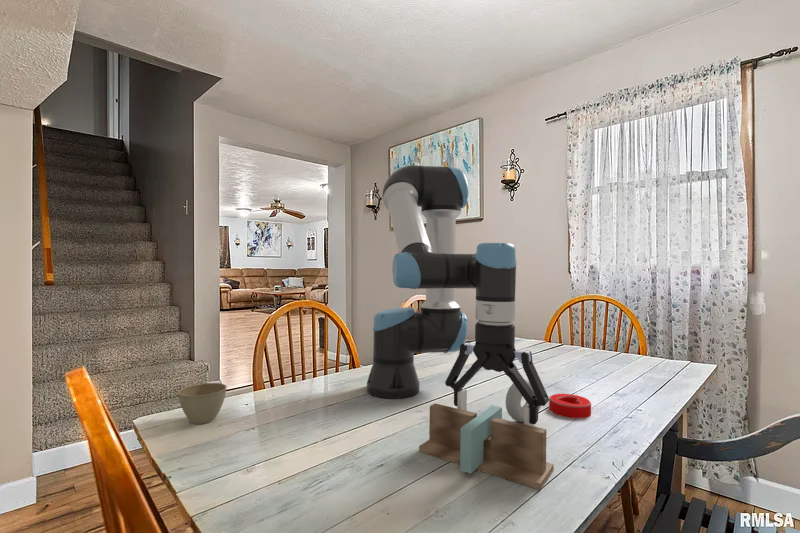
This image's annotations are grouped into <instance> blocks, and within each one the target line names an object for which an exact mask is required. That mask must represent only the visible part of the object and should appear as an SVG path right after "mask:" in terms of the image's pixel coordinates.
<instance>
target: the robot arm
mask: <svg viewBox="0 0 800 533" xmlns="http://www.w3.org/2000/svg"><path fill="white" fill-rule="evenodd" d="M382 188H383V189H382V200H383V205H384V207H385V208H386V209H387V210H388V211H389V215H390V220H391V225H392V228H393V233H394V234H393V235H394V238H395V242H396V246H397V251H398V253H396V254H394V256H393V259H392V266H391V267H392V268H391V271H392V281H393V285H394V286H396V288H399V289H400V288H401V289H411V290H416V289H424V290H425V300H424V301H423V303H422V304H421V305H420V312H415V311H416V310H415V309H414V308H413V307H409V306H408V307H395V308H388V309H383V310H381V311H378V312H377V313H376V314H374V318H373V326H372V331H373V343H372V344H373V346H372V348H373V350H372V358H373V360H372V366H371V369H370V372H369V375H368V378H367V381H366V392H367V393H368V394H369V395H372V396H374V397H378V398H384V399H403V398H409V397H413V396H415V395H417V394H418V393H420V380H419V378H418V377H419V376H418V373H417V370H416V367H415V364H414V362H415V361H414V360H415V356H414V355H415V354H425V353H426V354H427V353H428V354H433V353H442V354H447V353H456V352H458V351H459V352H458V355H457V358H456V359H455V362H454V364H453V366H452V368H451V369H450V372H449V374H448V376H447V378H446V380H445V382H444V385H445V386H446V387H450V388H452V390H453V405H454V407H456V408H457V409H461V410H466V411H468V410H467V405H468V403H467V401H468V400H467V399H468V390H467V389H465V386H466V385H467V384H468V383H469V382H470V381H471V380H472V379H473V378H474V376H475V375H476V374H478V372H479V371H480V370H481V369H482V368H484V370H486V371H495V372H497V373H501V372H503V373H504V374H505V375H506V376H507V377H508V378H509V379H510V380H511V382H512V384H513V383H514V385H515V386H516V388H517V389H518V390H519V392H520V393H521V395H522V396H523V397H522V398H523V399H524V400H525V403H526V402H527V403H528V404H527V405H526V406H525V407H524V422H523V424H526V425H530V426H535V425H536V424H537V422H538V421H539V412H538V406H541V407H545V406H546V405H547V404H548V403H549V398H550V397H549V396H548V393H547V391H546V389H545V386H544V384H543V381H542V380H541V378H540V375H539V374H538V372H537V369H536V367H535V365H534V362H533V356H532V354H533V353H532V351H531V350H530V349H527V350H525V351H523V350H521V351H520V350H518V351H517V350H516V348H515V346H516V345H515V339H516V338H515V336H516V325H514V323H513V322H515V321H516V283H517V282H516V280H517V279H516V278H517V264H518V263H517V258H516V246H515V245H514V244H512V243H509V242H482V243H479V244H477V246H476V252H475V253H456V232H457V229H456V226H457V225H456V223H457V222H456V219H457V218H458V217H459V216H460V215H461V214H462V209H464V208H465V207H466V206H467V204H468V201H469V200H468V198H469V185H468V179H467V176H466V175H465V173H464V171H463V170H462V169H460V168H457V167H449V166H433V165H432V166H430V165H429V166H428V165H414V164H411V165H410V164H409V165H405V166H402V167H400V168H398V169H397V170H394V172H392V174H390V176H389V177H387V180H386V181H385V184H384V185H383V187H382ZM419 208H421V209H419ZM422 216H423V217H424V218H425V219H426V220H425V222H426V225H425V224H424V221H423V218H422ZM425 226H426V227H425ZM456 289H475V320H476V321H477V322H475V325H474V327H475V328H474V331H475V332H474V339H475V343H474V344H471V343H470V341H467V342H466V340H467V336H468V321H467V320H468V318H467V315H466V313H464V312H463V311H461V306H460V304H459V303H457V301H456ZM472 353H473V354H474V356H475V357H476V360H475V361H474V362H473V363H472V364H471V366H470V367H469V368H468V369H467V371H466V372H464V374H463V375H462V376H461V377H460V378H459V376H460V374H461V372H462V370H463V369H464V367H465V364H466V362H467V360H468V359H469V356H470V355H472ZM516 358H517V359H518V362H519V363H520V364H521V365H522V368H523V371H524V373H525V375H526V379H528V380H529V382H530V384H531V387H532V389H533V391H534V392H533V391H532V389H531V388H530V387H529V385H528V384H527V383H526V381H525V380H524V378H525V377H523V375H522V374H521V373H520V371H519V370H518V367H517V366H516V363H515V362H514V361H515V359H516ZM458 378H459V379H458ZM534 393H535V394H534Z"/></svg>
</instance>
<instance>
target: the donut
mask: <svg viewBox="0 0 800 533" xmlns="http://www.w3.org/2000/svg"><path fill="white" fill-rule="evenodd" d="M523 378H524V380H525V381H526V383H527V384H528V385H529V387H530V388H531V389H532V387H531V384H530V382H529V380H528V378H525V377H523ZM532 391H533V389H532ZM533 392H534V391H533ZM534 394H535V393H534ZM522 398H524V397H523V396H522V395H521V393H520V392H519V390H518V389H517V388H516V386H515V385H514V383H513V382H512V384H511V385H510V386H509V388H508V390H507V392H506V396H505V408H506V412H507V413H508V415H509V417H511V419H512V420H514V421H515V422H517V423H524V407H525V406H526V405H527V404H528V403H527V402H526V401H525V403H524V405H522V404H521V402H522ZM541 407H542V406H538V413H539V412H540V409H541Z"/></svg>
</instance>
